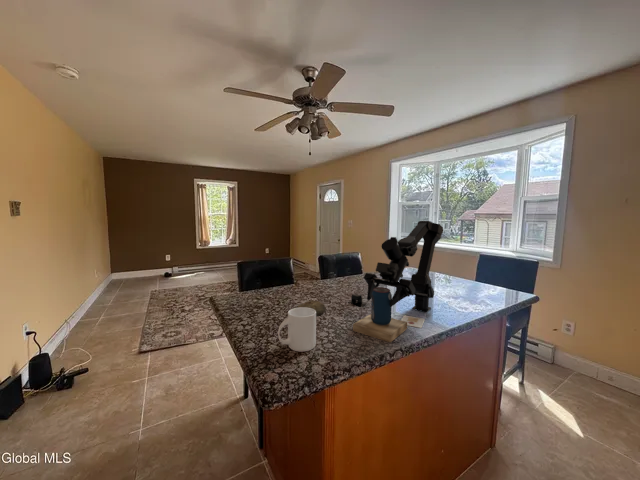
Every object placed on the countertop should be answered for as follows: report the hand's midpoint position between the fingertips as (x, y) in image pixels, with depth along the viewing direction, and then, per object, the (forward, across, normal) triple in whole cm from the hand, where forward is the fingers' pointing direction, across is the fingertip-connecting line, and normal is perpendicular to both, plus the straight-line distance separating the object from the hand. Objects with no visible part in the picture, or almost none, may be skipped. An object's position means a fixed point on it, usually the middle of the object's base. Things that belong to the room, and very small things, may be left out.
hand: (378, 302), depth 91 cm
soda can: (+4, 0, +6) cm, 8 cm away
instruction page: (-5, +4, +19) cm, 20 cm away
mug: (+27, -10, -13) cm, 32 cm away
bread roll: (+10, -31, +5) cm, 33 cm away
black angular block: (-6, -25, +21) cm, 33 cm away
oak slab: (+6, 0, +8) cm, 10 cm away
